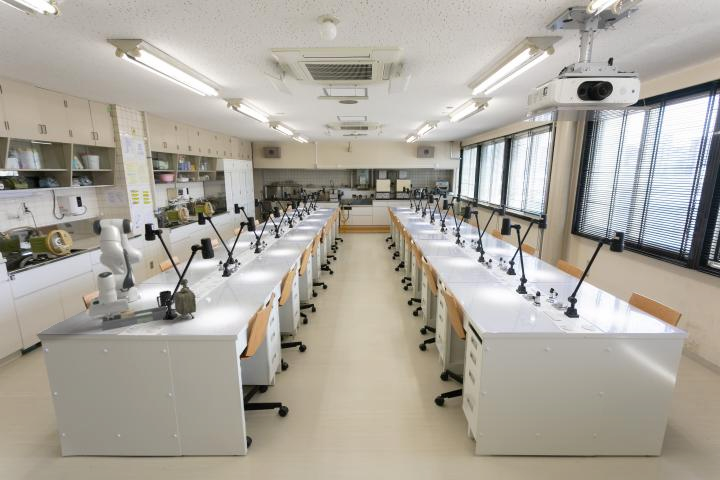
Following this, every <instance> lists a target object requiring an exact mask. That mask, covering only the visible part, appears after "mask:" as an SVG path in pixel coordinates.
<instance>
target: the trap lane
mask: <svg viewBox="0 0 720 480" xmlns="http://www.w3.org/2000/svg"><path fill="white" fill-rule="evenodd" d="M166 310H167V307H166V306H163V307H158V306H157V307H154V308H153V307H152V308H147V309H141V310H134V315H135V316H134V317H129V318H123V319H121V314H118V315H114V320H108V318H107V317H106V316H103V317H102V322H101V326H102V331H107V330H108V331H109V330H112V329H118V328H122V327H128V326H133V325H137V324H139V325H140V324H143V323H148V322H154V321H158V320H163V318H164V317H165V315H166V312H167V311H166ZM108 316H109V317H111V316H110V315H108ZM112 316H113V315H112ZM164 319H165V318H164Z"/></svg>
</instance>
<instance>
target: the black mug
mask: <svg viewBox="0 0 720 480" xmlns="http://www.w3.org/2000/svg"><path fill="white" fill-rule="evenodd" d="M171 297H172V291H171V290H162V291H160V292H159V296H156V301H157V307H163V306H165V302H166V300H168V299H170V298H171Z"/></svg>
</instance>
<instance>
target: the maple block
mask: <svg viewBox="0 0 720 480" xmlns="http://www.w3.org/2000/svg"><path fill="white" fill-rule="evenodd" d="M134 312H135V310H134V309H133V308H132V309H129V310H127V311H121V319H123V318H129V317H134V316H135V315H134Z"/></svg>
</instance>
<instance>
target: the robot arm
mask: <svg viewBox="0 0 720 480" xmlns="http://www.w3.org/2000/svg"><path fill="white" fill-rule="evenodd" d="M133 225H134V224H133V222H132V221H131V220H130V219H127V218H106V219H105V218H103V219H101V218H100V219H95V220H94V221H93V222H92V226H91V229H92V231H93V233H94V234H95V235H98V236H99V250H100V252H101V254H100V255H99V261H100V263H101V265H103V266H105V267H107V268H108V269H109V270H111V271H105V272H104V271H103V272H101V273H99V274H98V275H97V280H96V281H97V282H96V283H97V284H96V285H97V291H98V296H97V297H94V298H92V299H90V300H89V301H90V302H89V304H90V305H89V307H88V316H89V317H98V316H103V315H104V317H107V318H108V320H114V315H115V312H121V311H127V310H130V304H129V303H132V302H135V301H137V300H139V299H141V298H142V296H141V295H140V294H138V293H139V292H138V288H137V287H136V286H135V285H136V278H135V275H134V273H133V272H134V271H133V268H132V264H133V265H134V264H138V263H140V262H141V261H142V260H143V253H142V252H141V251H140V250H139V249H137V248H134V247H133V246H132V245H131V244H130V242H129V239H128V234H130V233H132V230H133V227H134V226H133ZM110 313H112V314H113V316H111V317H109V316H110V315H109V314H110Z"/></svg>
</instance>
